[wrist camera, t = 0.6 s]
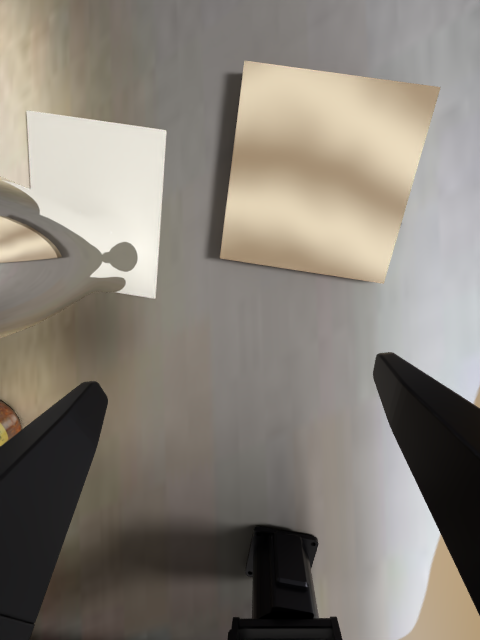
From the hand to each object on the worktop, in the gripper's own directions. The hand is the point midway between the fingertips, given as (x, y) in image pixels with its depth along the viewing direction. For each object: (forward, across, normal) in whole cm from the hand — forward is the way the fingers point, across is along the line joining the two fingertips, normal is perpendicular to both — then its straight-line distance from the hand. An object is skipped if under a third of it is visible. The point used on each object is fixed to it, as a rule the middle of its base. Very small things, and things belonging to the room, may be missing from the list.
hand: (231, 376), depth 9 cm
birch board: (+15, -6, -2) cm, 16 cm away
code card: (+15, +11, -3) cm, 19 cm away
